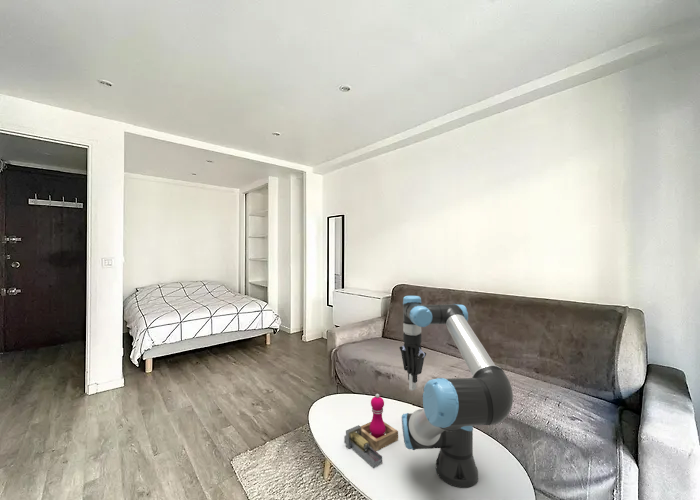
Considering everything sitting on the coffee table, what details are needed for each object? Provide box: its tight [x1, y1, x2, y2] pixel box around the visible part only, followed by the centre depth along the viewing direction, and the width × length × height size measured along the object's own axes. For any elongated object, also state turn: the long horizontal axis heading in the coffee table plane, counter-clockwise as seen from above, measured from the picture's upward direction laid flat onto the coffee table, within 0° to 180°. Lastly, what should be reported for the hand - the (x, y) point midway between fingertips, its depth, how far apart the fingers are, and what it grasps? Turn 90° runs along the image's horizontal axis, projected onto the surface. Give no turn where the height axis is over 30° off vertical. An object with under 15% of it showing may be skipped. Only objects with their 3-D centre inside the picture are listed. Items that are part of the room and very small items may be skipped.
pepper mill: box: [370, 393, 386, 439], centre depth 138 cm, size 7×7×20 cm
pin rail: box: [343, 424, 383, 469], centre depth 128 cm, size 20×7×7 cm, turn 36°
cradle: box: [360, 420, 399, 452], centre depth 138 cm, size 13×13×4 cm
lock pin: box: [351, 432, 370, 451], centre depth 130 cm, size 11×3×3 cm, turn 36°
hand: (412, 389), depth 128 cm, fingers closed
